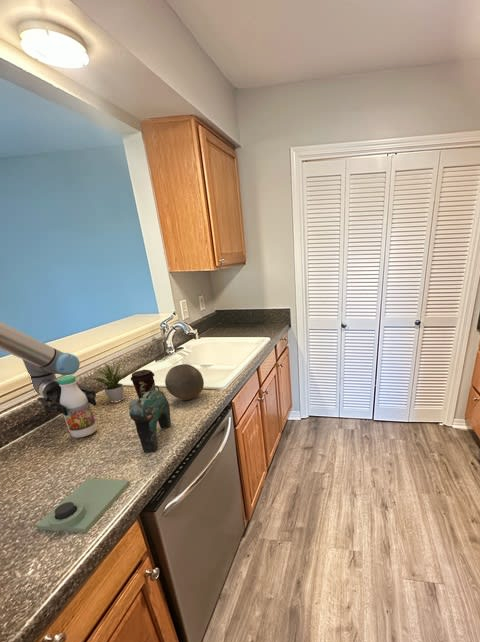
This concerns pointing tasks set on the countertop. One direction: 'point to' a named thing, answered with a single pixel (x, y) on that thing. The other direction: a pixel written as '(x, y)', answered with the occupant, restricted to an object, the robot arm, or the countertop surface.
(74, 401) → the milk bottle
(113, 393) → the house plant
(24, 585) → the countertop surface
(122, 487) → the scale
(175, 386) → the dark brown ball
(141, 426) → the teal painted figure
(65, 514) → the tare button
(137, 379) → the coffee cup
